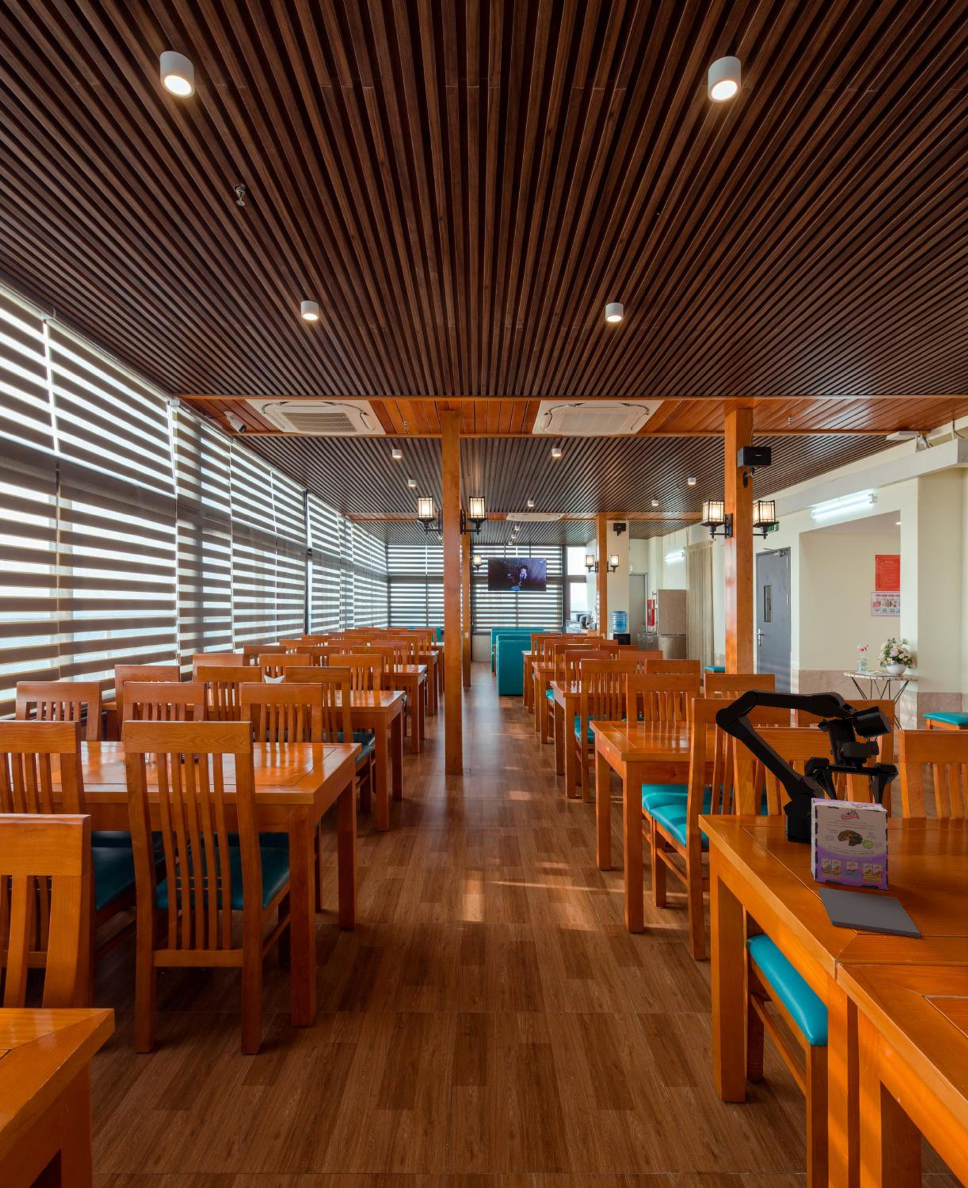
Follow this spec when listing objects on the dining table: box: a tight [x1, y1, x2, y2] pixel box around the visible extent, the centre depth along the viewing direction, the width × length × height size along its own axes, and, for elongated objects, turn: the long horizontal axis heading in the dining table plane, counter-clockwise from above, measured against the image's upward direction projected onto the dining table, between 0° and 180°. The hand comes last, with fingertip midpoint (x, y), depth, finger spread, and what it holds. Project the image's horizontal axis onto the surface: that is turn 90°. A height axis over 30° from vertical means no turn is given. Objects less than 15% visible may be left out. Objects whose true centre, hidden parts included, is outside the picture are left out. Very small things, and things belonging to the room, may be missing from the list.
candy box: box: [810, 798, 889, 891], centre depth 142 cm, size 14×6×16 cm, turn 71°
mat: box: [817, 887, 921, 938], centre depth 128 cm, size 14×15×1 cm
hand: (857, 805), depth 151 cm, fingers open, 9 cm apart
